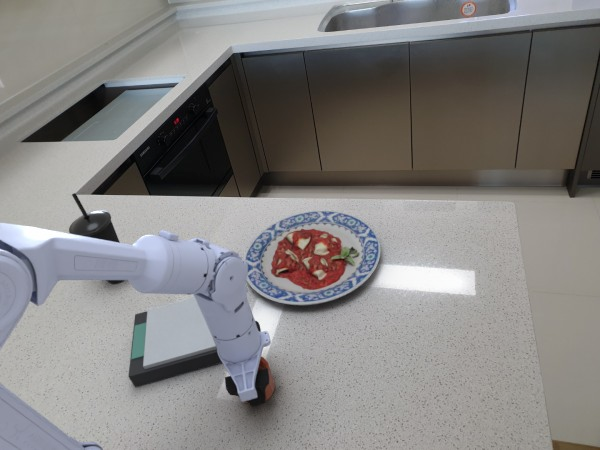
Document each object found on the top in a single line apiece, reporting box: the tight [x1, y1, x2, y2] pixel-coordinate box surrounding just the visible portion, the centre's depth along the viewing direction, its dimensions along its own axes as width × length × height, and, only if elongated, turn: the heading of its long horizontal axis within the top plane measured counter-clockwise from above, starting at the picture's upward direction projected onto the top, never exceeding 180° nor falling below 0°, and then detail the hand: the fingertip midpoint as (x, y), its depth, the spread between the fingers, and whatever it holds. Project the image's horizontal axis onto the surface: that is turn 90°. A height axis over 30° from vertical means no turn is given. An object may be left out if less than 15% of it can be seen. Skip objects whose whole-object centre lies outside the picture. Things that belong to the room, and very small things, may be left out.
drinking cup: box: [68, 192, 125, 285], centre depth 87 cm, size 8×8×20 cm
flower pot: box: [243, 356, 276, 405], centre depth 66 cm, size 5×6×4 cm
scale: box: [127, 296, 223, 388], centre depth 75 cm, size 15×13×4 cm
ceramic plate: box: [243, 210, 381, 306], centre depth 86 cm, size 26×26×3 cm
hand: (255, 384), depth 66 cm, fingers closed on flower pot, 5 cm apart
